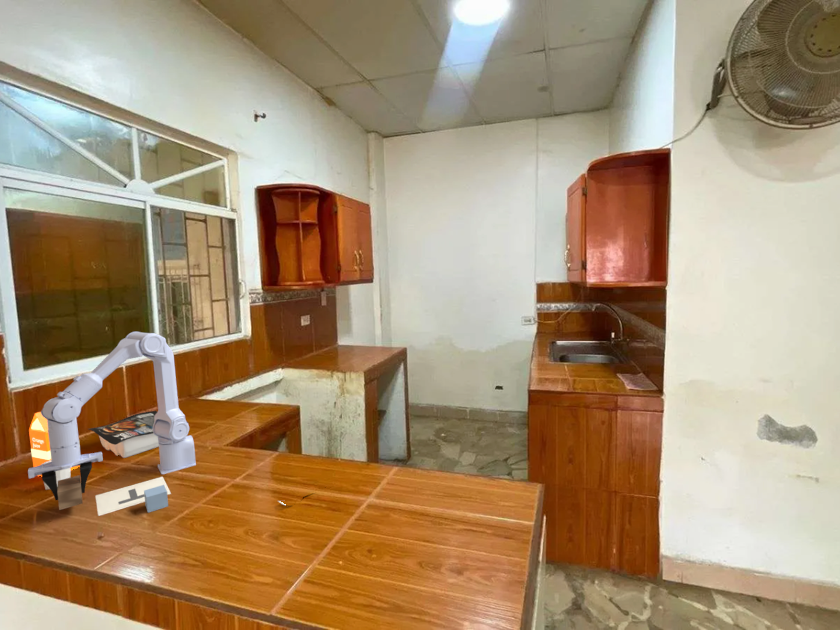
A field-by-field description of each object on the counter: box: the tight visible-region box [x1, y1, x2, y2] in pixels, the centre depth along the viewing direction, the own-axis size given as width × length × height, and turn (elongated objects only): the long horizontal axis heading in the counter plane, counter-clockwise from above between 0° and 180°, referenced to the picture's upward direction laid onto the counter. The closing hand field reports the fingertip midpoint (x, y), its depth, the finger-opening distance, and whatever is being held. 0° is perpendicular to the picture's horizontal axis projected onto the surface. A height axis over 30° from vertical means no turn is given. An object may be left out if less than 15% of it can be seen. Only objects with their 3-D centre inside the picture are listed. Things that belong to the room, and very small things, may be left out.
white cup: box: [41, 460, 72, 491], centre depth 123 cm, size 7×7×7 cm
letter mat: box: [95, 476, 172, 517], centre depth 116 cm, size 16×13×1 cm
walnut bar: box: [57, 474, 84, 511], centre depth 109 cm, size 4×8×4 cm, turn 40°
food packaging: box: [88, 410, 189, 459], centre depth 152 cm, size 25×8×23 cm
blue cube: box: [144, 485, 169, 514], centre depth 110 cm, size 4×4×4 cm
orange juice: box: [28, 411, 81, 478], centre depth 131 cm, size 8×9×20 cm
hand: (70, 495), depth 109 cm, fingers closed on walnut bar, 4 cm apart
